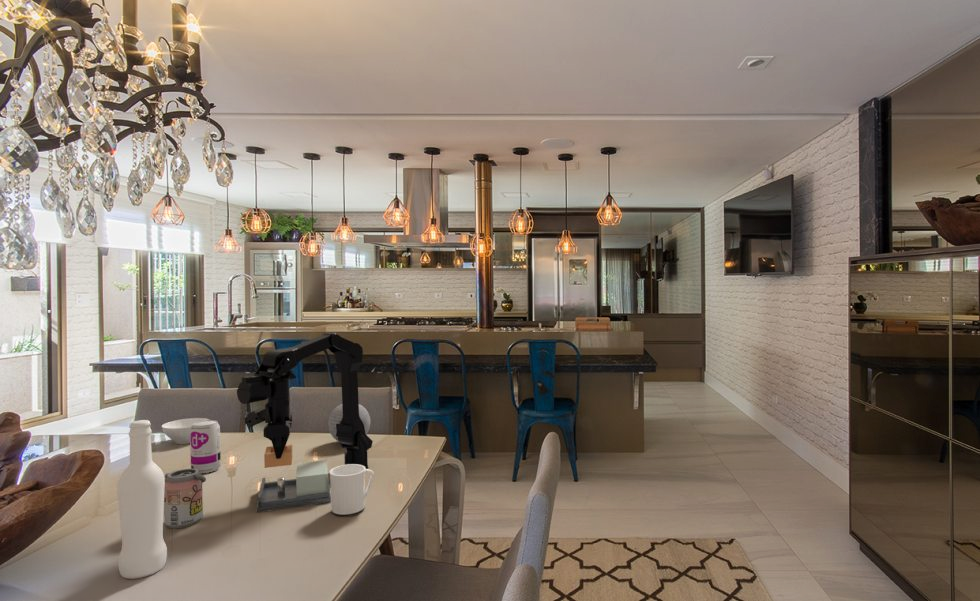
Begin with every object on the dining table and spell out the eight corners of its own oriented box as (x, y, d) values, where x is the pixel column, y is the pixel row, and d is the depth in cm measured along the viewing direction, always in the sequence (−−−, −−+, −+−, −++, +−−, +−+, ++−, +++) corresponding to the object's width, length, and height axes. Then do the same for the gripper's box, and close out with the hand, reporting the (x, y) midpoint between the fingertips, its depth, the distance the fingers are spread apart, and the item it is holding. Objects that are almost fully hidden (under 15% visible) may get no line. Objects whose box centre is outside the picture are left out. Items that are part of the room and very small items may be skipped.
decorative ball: (320, 444, 192) (319, 403, 192) (355, 435, 204) (354, 396, 203) (344, 451, 182) (343, 408, 182) (379, 442, 194) (378, 401, 194)
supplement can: (208, 475, 160) (207, 426, 160) (184, 474, 162) (183, 425, 162) (226, 466, 168) (225, 420, 168) (204, 465, 170) (203, 419, 170)
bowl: (195, 447, 190) (195, 428, 190) (151, 447, 191) (151, 428, 190) (218, 435, 206) (218, 417, 206) (178, 435, 207) (178, 418, 206)
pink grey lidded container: (180, 512, 133) (179, 465, 132) (213, 512, 132) (212, 465, 132) (155, 529, 123) (154, 478, 123) (190, 529, 123) (189, 478, 123)
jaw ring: (292, 456, 146) (292, 444, 146) (291, 464, 140) (291, 452, 140) (266, 459, 144) (266, 446, 144) (264, 467, 138) (264, 454, 138)
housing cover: (326, 479, 151) (326, 460, 151) (328, 494, 140) (328, 473, 140) (297, 483, 149) (297, 463, 148) (296, 499, 137) (296, 477, 137)
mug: (329, 519, 127) (329, 477, 127) (330, 505, 136) (329, 466, 136) (375, 513, 130) (375, 472, 130) (373, 500, 139) (372, 461, 139)
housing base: (328, 481, 153) (328, 464, 153) (330, 502, 138) (330, 482, 138) (261, 490, 147) (261, 471, 147) (256, 512, 132) (256, 492, 132)
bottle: (134, 560, 109) (130, 417, 108) (175, 558, 110) (171, 415, 109) (109, 582, 101) (105, 426, 100) (153, 579, 101) (149, 425, 101)
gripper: (250, 393, 148) (250, 448, 148) (241, 406, 130) (242, 469, 130) (292, 390, 151) (293, 444, 152) (289, 403, 134) (290, 463, 134)
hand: (279, 454), depth 142 cm, fingers closed on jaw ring, 7 cm apart
